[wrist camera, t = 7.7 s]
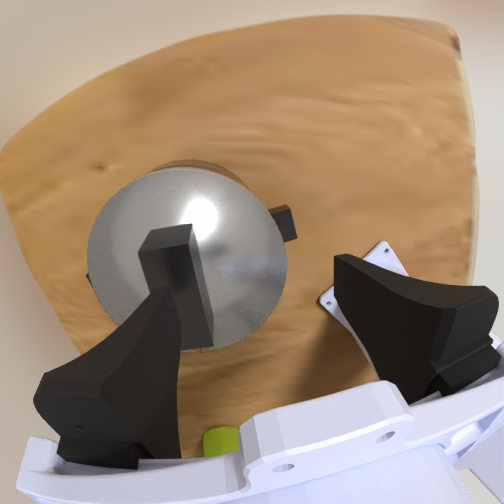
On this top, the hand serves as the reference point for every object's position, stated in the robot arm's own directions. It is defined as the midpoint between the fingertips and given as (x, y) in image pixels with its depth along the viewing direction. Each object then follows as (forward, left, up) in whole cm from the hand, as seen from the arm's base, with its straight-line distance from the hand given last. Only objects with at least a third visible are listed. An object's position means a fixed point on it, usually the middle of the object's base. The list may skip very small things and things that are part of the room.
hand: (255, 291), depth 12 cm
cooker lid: (+1, +3, -5) cm, 7 cm away
